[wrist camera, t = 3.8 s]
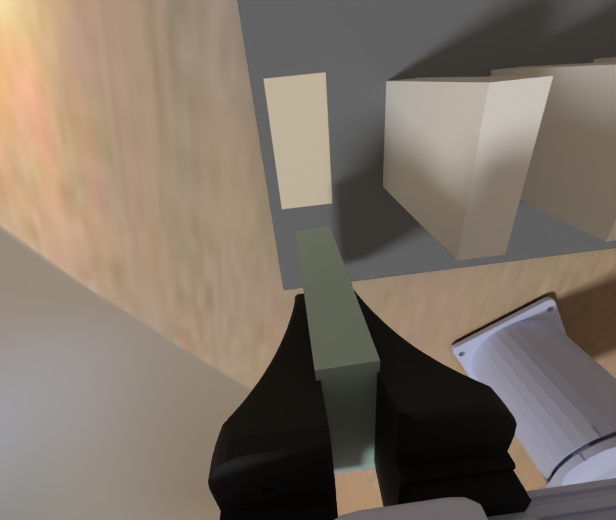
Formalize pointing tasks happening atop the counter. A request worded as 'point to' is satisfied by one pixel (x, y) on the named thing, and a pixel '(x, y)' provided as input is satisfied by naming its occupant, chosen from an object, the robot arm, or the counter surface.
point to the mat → (371, 113)
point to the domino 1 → (340, 350)
